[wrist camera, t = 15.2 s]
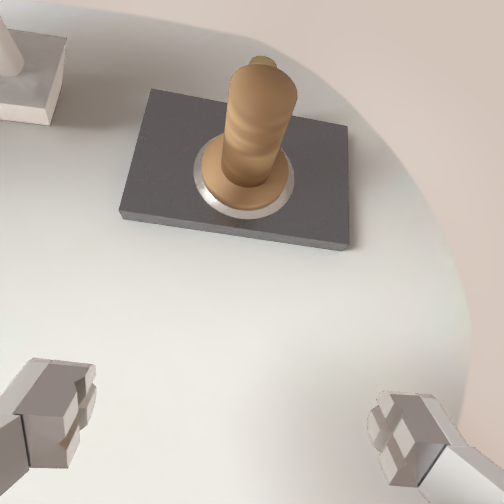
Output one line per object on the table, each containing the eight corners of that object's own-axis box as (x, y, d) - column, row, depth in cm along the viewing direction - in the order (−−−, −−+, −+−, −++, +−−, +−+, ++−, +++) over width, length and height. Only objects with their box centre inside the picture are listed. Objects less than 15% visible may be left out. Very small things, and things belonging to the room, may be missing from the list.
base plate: (123, 219, 25) (118, 209, 24) (153, 101, 30) (151, 87, 28) (341, 251, 27) (349, 244, 26) (340, 137, 32) (347, 125, 30)
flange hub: (195, 203, 25) (193, 126, 17) (208, 131, 27) (211, 34, 20) (283, 217, 26) (320, 149, 18) (288, 145, 28) (322, 59, 20)
